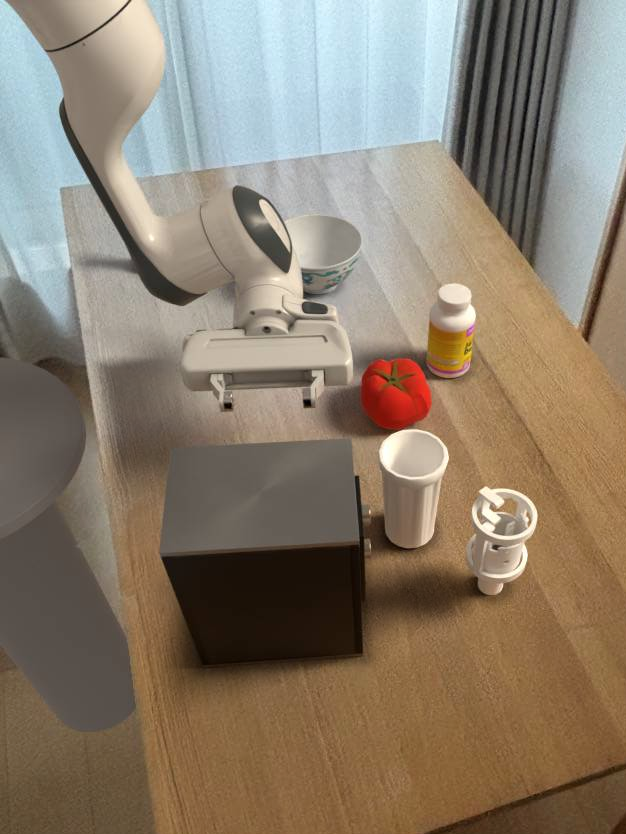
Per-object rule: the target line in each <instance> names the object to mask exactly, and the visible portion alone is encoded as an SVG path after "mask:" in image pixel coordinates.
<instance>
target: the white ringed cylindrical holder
mask: <svg viewBox="0 0 626 834" xmlns="http://www.w3.org/2000/svg"><path fill="white" fill-rule="evenodd" d="M504 499H506V500H509V499H512V501H513V502H516V503H517V506H516V510H515V515H514V514H512V513H509V512H505V511H493V510H492V509H491V508H490V506H492V507H493V508H494V509H496V510H498V509H499V508H501V507H502V506H503V505H504V504H505V500H504ZM527 513H528V514H529V517H530V519H529V517H528V516H527ZM478 515H479V516H480V517H481V518H480V519H479V517H478ZM529 521H531V523H530V525H529V524H528V523H529ZM470 523H471V525H472V528H473V529H474V531H475V534H474V535H472V536H471V538H470V539H469V540H468V542H467V544H466V550H465V555H464V558H465V564H466V566H467V569H469V571H470V572H471V573H472V574H473V575H474V576H475V577H477V578H478V579H477V587H478V589H479V591H480V592H482V593H483V594H485V595H486V596H487V595H488V596H496V595H498V594H499V593H501V592H502V590H503V588H504V584H507V583H510V582H512V581H514V580H517V578H519V577H520V576H521V575H522V574H523V572H524V571H525V568H526V566H527V562H528V549H527V547H526V545H525V542H526V541H527V540H528V539H530V538H531V537H532V536H533V534H534V533H535V531H536V526H537V523H538V511H537V508H536V506H535V504H534V503H533V501H532V500H531V499H530V498H529V497H528V496H526V495H525V494H523V493H521V492H519V491H517V490H514V489H510V488H493V489H490V488H489V487H488V486H483V487H482V488H481V489H480V490H479V491H478V494H477V498H476V499H475V500H474V502H473V504H472V508H471V514H470ZM471 551H472V552H471Z"/></svg>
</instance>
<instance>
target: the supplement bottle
mask: <svg viewBox="0 0 626 834" xmlns="http://www.w3.org/2000/svg"><path fill="white" fill-rule="evenodd" d="M436 298H437V299H436V300H437V301H435V302H434V304H433V305H432V306H431V307H430V310H429V315H428V316H429V317H428V333H427V347H426V366H427V368H428V370H429V371H430V372H431V373H432V374H434V375H436V376H438V377H441V378H446V379H455V378H458V377H461V376H463V375H464V374H466V373H467V372H468V370H469V368H470V366H471V361H472V353H473V344H474V336H475V335H474V334H475V325H476V318H477V317H476V316H477V315H476V310H475V308H474V306H473V305H472V304H471V303H472V292H471V290H470V288H468V287H467V286H465V285H463V284H460V283H447V284H444V285H441V287H439V289H438V291H437V297H436Z"/></svg>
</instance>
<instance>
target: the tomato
mask: <svg viewBox="0 0 626 834" xmlns="http://www.w3.org/2000/svg"><path fill="white" fill-rule="evenodd" d="M360 381H361V385H360V390H359V392H360V393H359V394H360V401H361V405H362V408H363V412H364V413H365V414H366V415H367V416H368V418H370V419H371V420H372V421H373V423H375V424H376V425H377V426H378V427H379V428H382V429H387V430H404V429H405V428H407V427H408V426H410V425H412V424H414V423H417V422H420V421H423V420H424V419H425V418H426V417H427V416H428V414H429V412H430V410H431V408H432V405H433V403H432V393H431V389H430V387H429V384H428V383H427V379H426V375H425V373H424V371H423V370H422V369H421V367H420V366H419V365H418V363H417V362H415V361H414V360H412V359H410V358H394V359H392V360H390V361H387V360H384V359H381V358H380V359H376V360H374V361H373V362H371V363H370V364H369V365H368V366H367V367H366V369H365V370H364V372H363V373H362V375H361V380H360Z"/></svg>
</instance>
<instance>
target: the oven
mask: <svg viewBox="0 0 626 834" xmlns="http://www.w3.org/2000/svg"><path fill="white" fill-rule="evenodd" d="M169 450H170V451H169V460H168V467H167V468H168V469H167V478H166V486H165V495H164V505H163V511H162V512H163V514H162V521H161V532H160V542H159V549H158V550H159V551H158V554H159V557H160V559H161V562H162V565H163V567H164V569H165V572H166V574H167V577H168V580H169V583H170V586H171V588H172V590H173V593H174V595H175V598H176V601H177V603H178V606H179V608H180V611H181V614H182V616H183V619H184V622H185V624H186V627H187V629H188V632H189V635H190V637H191V640H192V642H193V645H194V648H195V651H196V652H197V655H198V658H199V660H200V663H201V667H202V668H204V669H205V668H216V667H229V666H230V667H232V666H242V665H243V666H246V665H257V664H272V663H285V662H298V661H299V662H300V661H313V660H326V659H340V658H352V657H353V658H354V657H363V656H364V632H363V631H364V629H363V608H362V607H363V604H362V602H367V598H366V597H367V593H366V592H367V591H366V590H367V589H366V587H367V586H366V585H367V584H366V560H368V559H372V545H371V539H370V538H365V530H364V527H365V526H367V527H368V526H371V525H372V517H371V506H370V504H362V493H361V480H360V479H361V478H360V475H358V474H357V475H355V465H354V464H355V463H354V453H353V439H352V438H351V437H349V438H329V439H312V440H310V439H309V440H291V441H289V440H287V441H271V442H269V441H268V442H254V443H253V442H252V443H251V442H250V443H232V444H231V443H230V444H214V445H213V444H212V445H195V446H192V445H191V446H177V447H176V446H175V447H170V449H169Z"/></svg>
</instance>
